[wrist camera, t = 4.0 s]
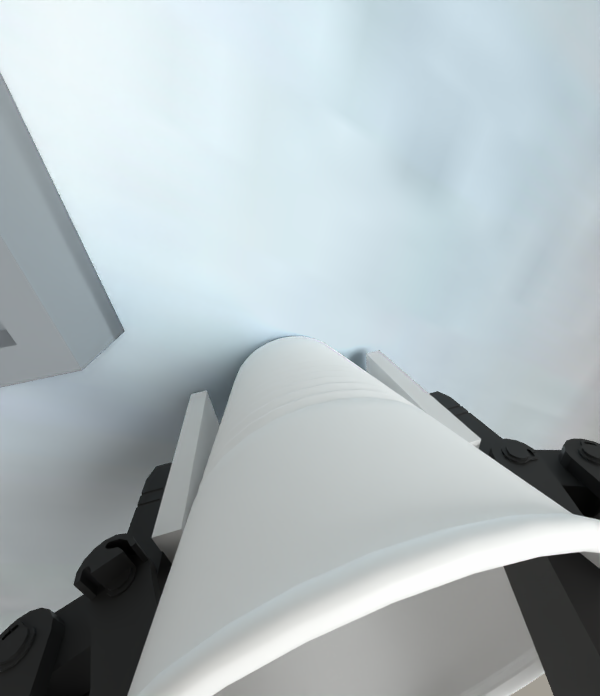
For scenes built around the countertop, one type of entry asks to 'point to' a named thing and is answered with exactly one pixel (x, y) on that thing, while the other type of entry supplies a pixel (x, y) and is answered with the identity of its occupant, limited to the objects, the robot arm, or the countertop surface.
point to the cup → (348, 548)
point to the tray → (43, 269)
